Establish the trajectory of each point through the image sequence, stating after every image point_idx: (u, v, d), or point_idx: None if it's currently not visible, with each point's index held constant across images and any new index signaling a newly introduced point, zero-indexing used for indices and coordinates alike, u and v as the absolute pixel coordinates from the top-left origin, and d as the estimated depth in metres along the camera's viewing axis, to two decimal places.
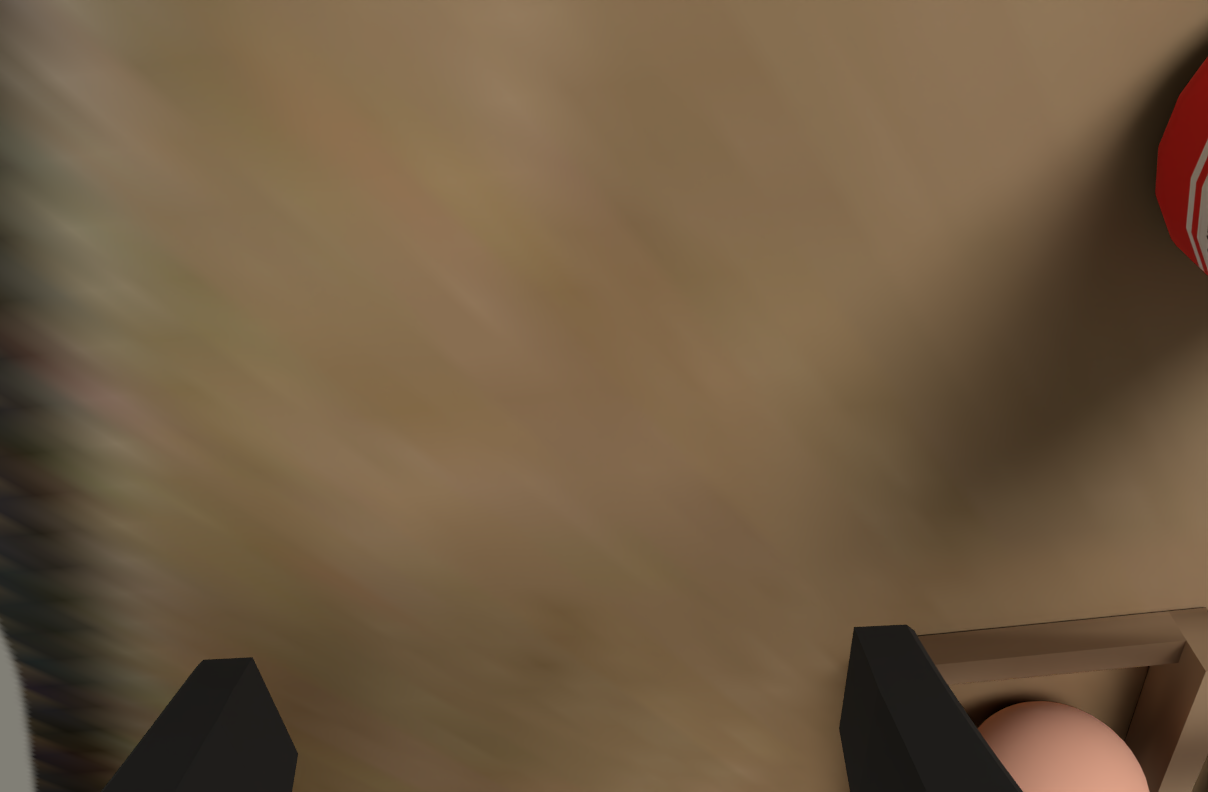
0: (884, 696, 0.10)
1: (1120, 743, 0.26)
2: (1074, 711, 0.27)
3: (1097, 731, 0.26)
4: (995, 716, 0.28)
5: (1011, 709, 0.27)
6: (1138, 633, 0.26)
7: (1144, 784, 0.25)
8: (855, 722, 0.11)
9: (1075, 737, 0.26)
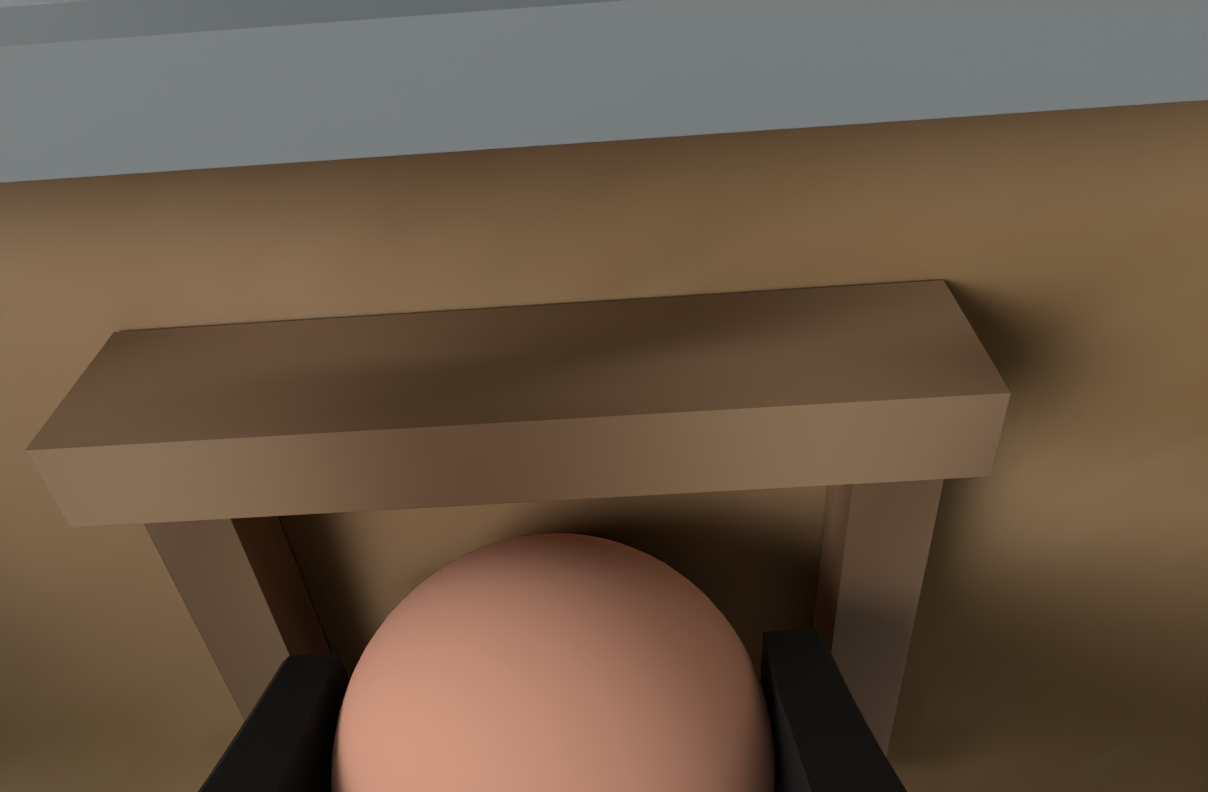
0: (784, 701, 0.10)
1: (376, 645, 0.10)
2: None
3: None
4: None
5: None
6: None
7: (403, 703, 0.09)
8: None
9: None
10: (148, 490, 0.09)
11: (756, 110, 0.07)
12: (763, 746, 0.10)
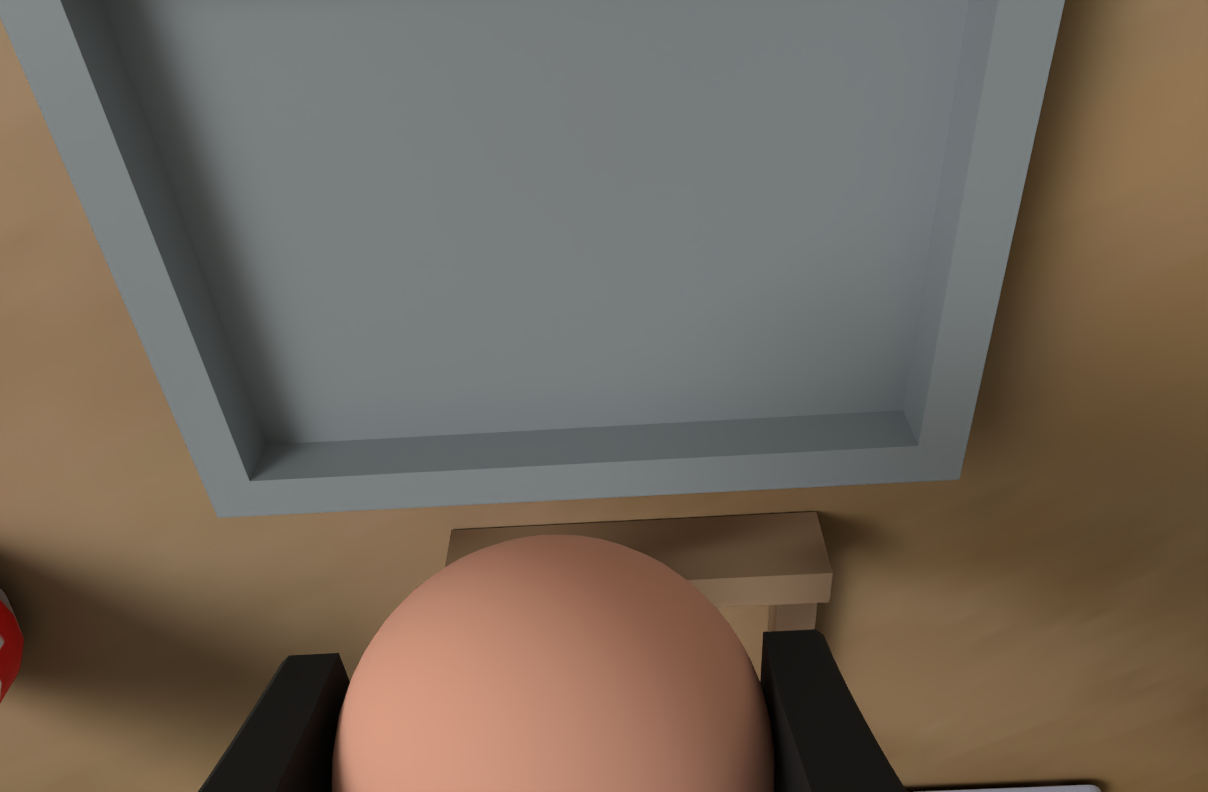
0: (784, 701, 0.10)
1: (375, 648, 0.10)
2: None
3: None
4: None
5: None
6: None
7: (403, 706, 0.09)
8: None
9: None
10: None
11: (732, 485, 0.20)
12: (762, 745, 0.10)
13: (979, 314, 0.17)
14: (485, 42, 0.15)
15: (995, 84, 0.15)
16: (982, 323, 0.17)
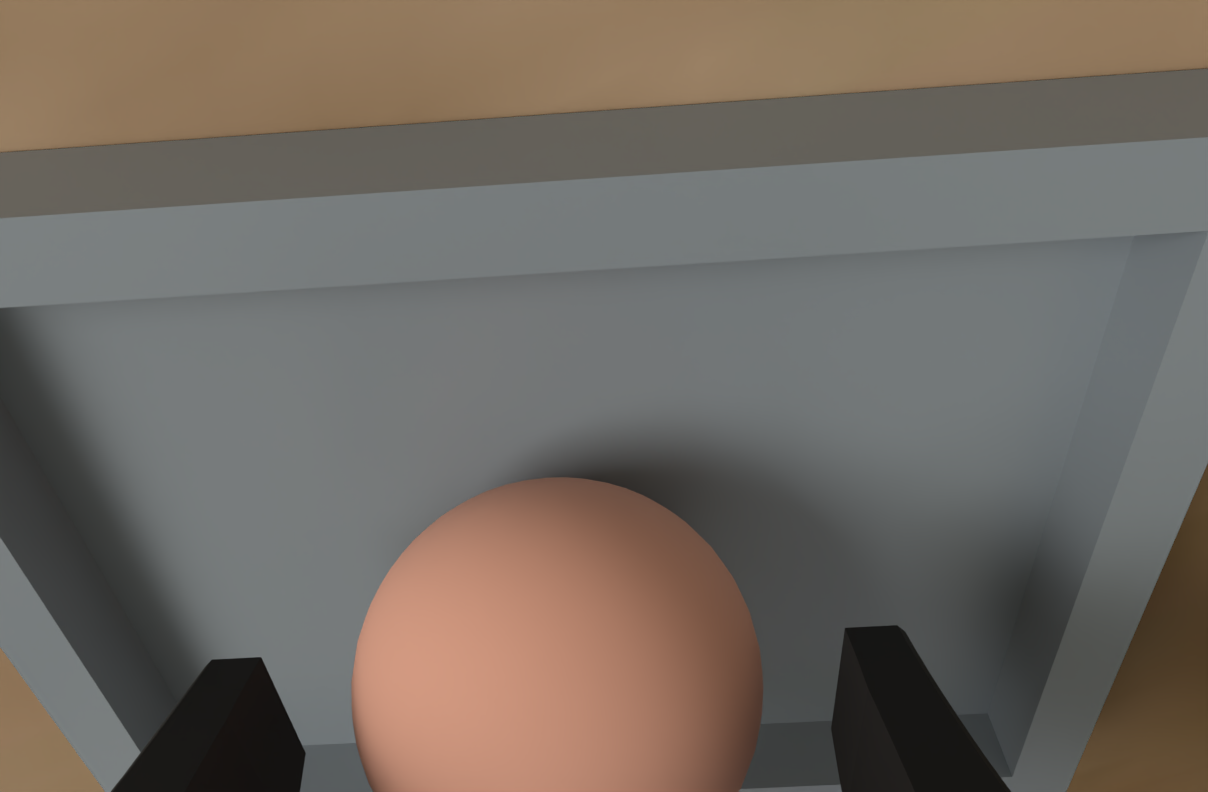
0: (874, 697, 0.10)
1: (392, 577, 0.11)
2: None
3: None
4: None
5: None
6: None
7: (419, 622, 0.10)
8: (846, 723, 0.11)
9: None
10: None
11: None
12: (751, 664, 0.11)
13: (1104, 656, 0.13)
14: (465, 351, 0.12)
15: (1154, 426, 0.11)
16: (1106, 664, 0.14)
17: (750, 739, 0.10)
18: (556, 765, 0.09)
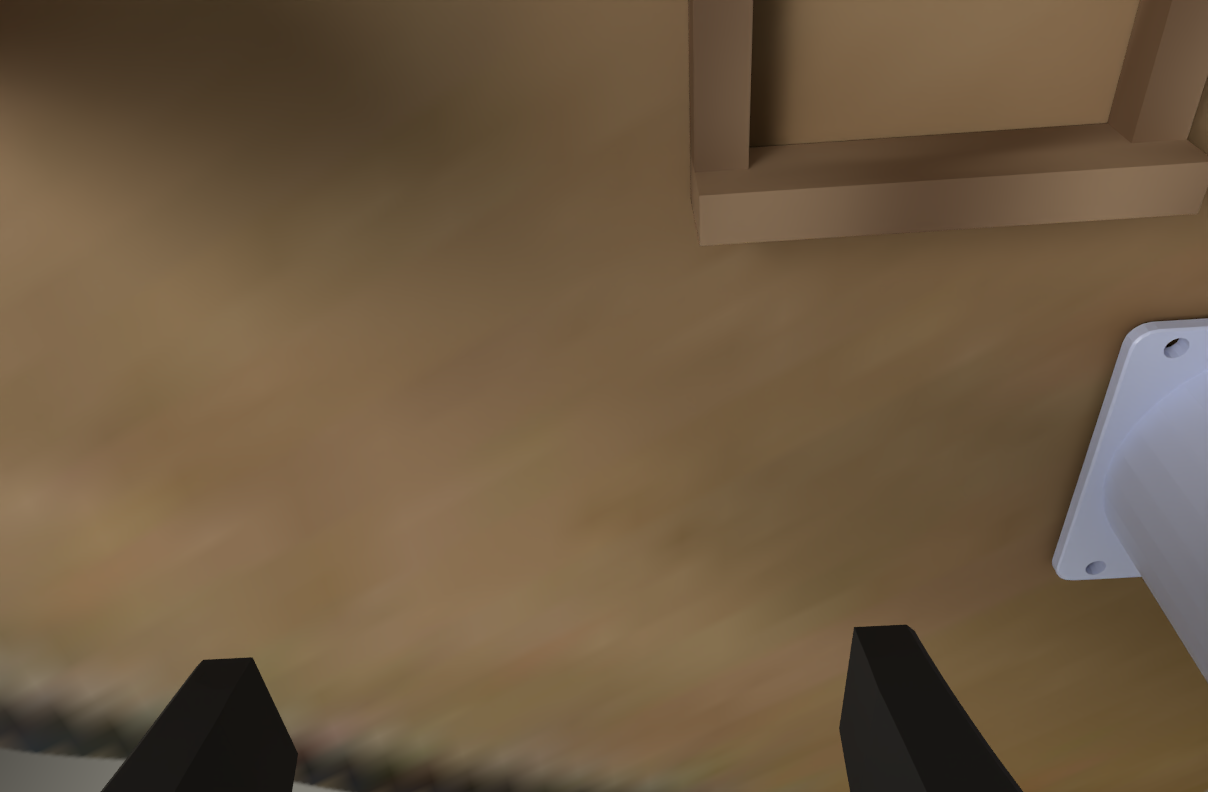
0: (884, 697, 0.10)
1: None
2: None
3: None
4: None
5: None
6: None
7: None
8: (855, 723, 0.11)
9: None
10: None
11: None
12: None
13: None
14: None
15: None
16: None
17: None
18: None
